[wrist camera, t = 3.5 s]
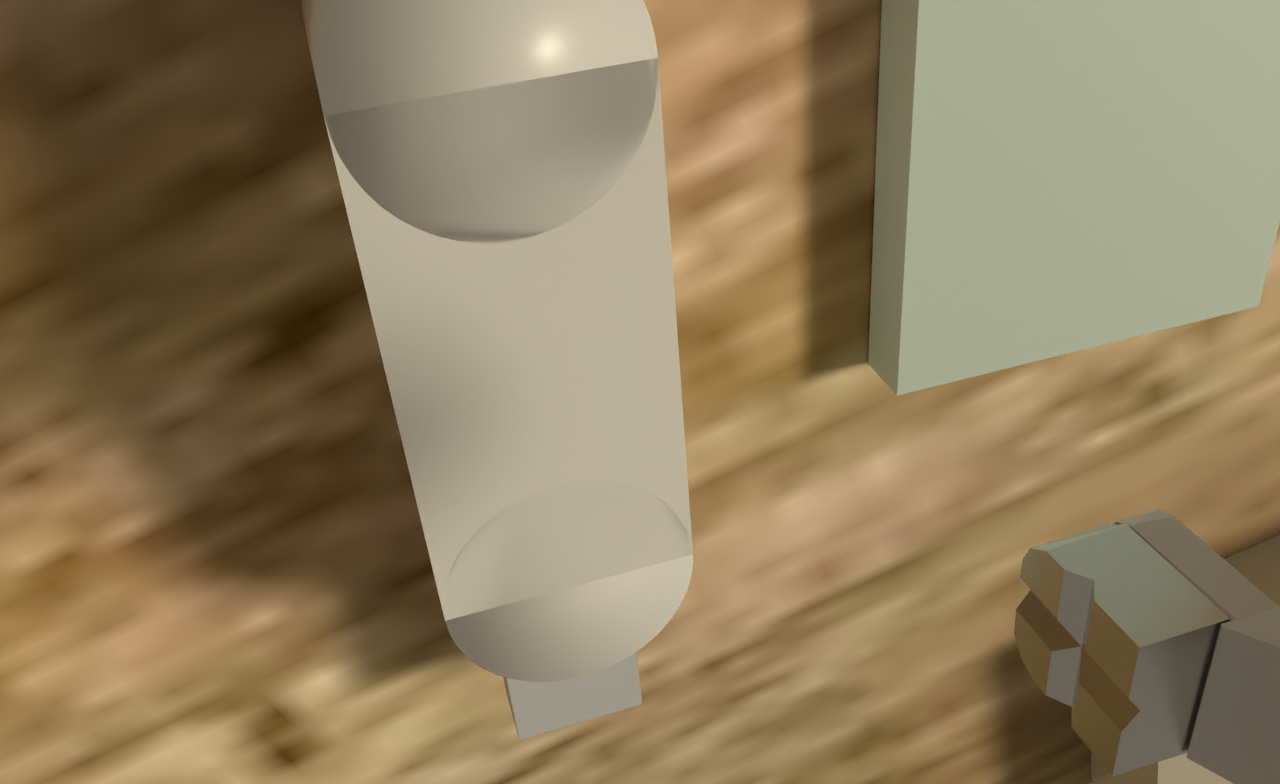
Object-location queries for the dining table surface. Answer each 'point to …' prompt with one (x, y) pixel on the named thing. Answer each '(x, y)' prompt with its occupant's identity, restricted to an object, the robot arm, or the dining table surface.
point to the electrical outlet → (1178, 779)
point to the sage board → (1067, 176)
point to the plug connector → (522, 321)
